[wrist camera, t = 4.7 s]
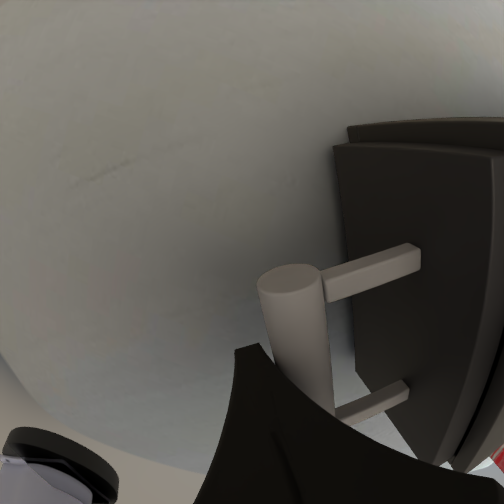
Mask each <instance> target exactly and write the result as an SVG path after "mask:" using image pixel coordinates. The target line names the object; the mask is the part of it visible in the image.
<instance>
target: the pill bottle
mask: <svg viewBox="0 0 504 504" xmlns="http://www.w3.org/2000/svg"><path fill="white" fill-rule="evenodd" d="M489 457H490V458H491V459H492V460H493V461H494V462H495V464H496V465H497V466H498V467H499V468H500V469H501V471H502V472H503V473H504V444H503V445H501V446H500V447H499V448H498V449H497V450H496V451H495V452H493V453H492V454H491V455H490V456H489Z"/></svg>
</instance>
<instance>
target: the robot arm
mask: <svg viewBox="0 0 504 504" xmlns="http://www.w3.org/2000/svg"><path fill="white" fill-rule="evenodd" d="M234 355H235V368H234V378H233V385H232V391H231V396H230V401H229V407H228V411H227V415H226V419H225V422H224V426H223V430H222V433H221V437H220V440H219V443H218V446H217V449H216V452H215V455H214V458H213V460H212V463H211V466H210V468H209V471H208V473H207V475H206V478H205V480H204V482H203V484H202V486H201V489H200V491H199V493H198V495H197V497H196V499H195V501H194V503H193V504H504V488H503V486H502V485H500V484H499V483H498V482H497V481H496V480H494V479H493V478H489V477H483V476H477V475H472V474H466V473H462V472H458V471H454V470H450V469H446V468H442V467H439V466H436V465H433V464H430V463H427V462H424V461H421V460H418V459H415V458H413V457H410V456H408V455H405V454H403V453H401V452H398V451H396V450H394V449H391V448H389V447H387V446H385V445H383V444H380V443H378V442H376V441H374V440H372V439H371V438H369V437H367V436H365V435H363V434H362V433H360V432H358V431H356V430H355V429H353V428H351V427H350V426H348V425H346V424H345V423H343V422H342V421H340V420H339V419H337V418H336V417H334V416H333V415H331V414H330V413H329V412H327V411H326V410H324V409H323V408H322V407H321V406H319V405H318V404H317V403H315V402H314V401H313V400H312V399H310V398H309V397H308V396H307V395H306V394H305V393H303V392H302V391H301V390H300V389H299V388H298V387H297V386H296V385H295V384H294V383H293V382H291V381H290V380H289V379H288V378H287V377H286V376H285V375H284V374H283V373H282V372H281V371H280V369H279V368H278V367H277V366H276V365H275V364H274V363H273V362H272V360H271V359H270V358H269V357H268V355H267V354H266V352H265V351H264V350H263V348H262V346H261V345H260V343H256V344H253V345H249V346H246V347H242V348H239V349H235V353H234ZM0 461H1V462H2V463H3V465H2V468H1V471H0V504H91V503H94V504H110V500H109V499H108V498H107V497H106V496H105V495H103V494H102V493H101V492H100V491H98V490H97V489H96V488H95V487H94V486H93V485H91V484H90V483H89V482H88V481H87V480H86V479H85V478H83V477H82V476H81V475H80V474H79V473H78V472H77V471H76V470H75V469H74V468H73V467H72V466H70V465H69V464H68V463H67V462H66V461H65V460H62V459H44V458H28V457H17V456H8V455H0Z"/></svg>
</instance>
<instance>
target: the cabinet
mask: <svg viewBox="0 0 504 504" xmlns="http://www.w3.org/2000/svg"><path fill="white" fill-rule="evenodd" d="M347 130H348V135H349V140H350V143H354V142H411V143H431V144H445V145H458V146H468V147H478V148H487V149H495V150H502V151H504V117H457V118H432V119H416V120H403V121H391V122H381V123H372V124H363V125H355V126H348V127H347ZM503 444H504V345H503V348H502V351H501V355H500V358H499V361H498V364H497V367H496V370H495V372H494V375H493V378H492V381H491V383H490V386H489V388H488V391H487V393H486V396H485V398H484V401H483V403H482V405H481V408H480V410H479V412H478V414H477V417H476V419H475V421H473V420H472V419H471V421H470V423H469V425H468V427H467V430H466V432H465V434H464V436H463V438H462V440H461V442H460V444H459V446H458V447H457V449H456V451H455V453H454V455H453V457H452V458H451V459H449V460H448V463H449V464H451V467H452V468H453V470H454V471H458V472H462V473H466V474H467V473H468V472H469V471H471V470H472V469H473V468H475V467H476V466H477V465H479V464H480V463H481V462H482V461H484V460H485V459H486V458H487V457H489V456H490V455H491V454H492V453H493V452H495V451H496V450H497V449H498V448H499V447H500V446H501V445H503Z"/></svg>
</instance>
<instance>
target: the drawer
mask: <svg viewBox="0 0 504 504" xmlns="http://www.w3.org/2000/svg"><path fill="white" fill-rule="evenodd" d="M333 152H334V158H335V163H336V169H337V175H338V181H339V188H340V194H341V201H342V208H343V215H344V223H345V231H346V239H347V248H348V257H349V262H347V263H344V264H340V265H337V266H334V267H331V268H328V269H324V270H321V271H319V270H318V269H317V268H316V267H314V266H312V265H308V264H288V265H283V266H279V267H276V268H274V269H271V270H269V271H267V272H266V273H264V274H263V275H262V276H260V278H259V279H258V281H257V284H256V287H257V291H258V295H259V299H260V303H261V307H262V311H263V316H264V320H265V324H266V328H267V332H268V336H269V340H270V344H271V348H272V353H273V357H274V361H275V365H276V366H277V367H278V368H279V369H280V371H281V372H282V373H283V374H284V375H285V376H286V377H287V378H288V379H289V380H290V381H291V382H293V383H294V384H295V385H296V386H297V387H298V388H299V389H300V390H301V391H302V392H303V393H305V394H306V395H307V396H308V397H309V398H310V399H312V400H313V401H314V402H315V403H317V404H318V405H319V406H321V407H322V408H323V409H324V410H326V411H327V412H329V413H330V414H331V415H333V416H334V417H336V418H337V419H339V420H340V421H342V422H343V423H345V424H346V425H348V426H351V425H354V424H356V423H359V422H361V421H363V420H365V419H368V418H370V417H372V416H374V415H377V414H379V413H381V412H383V411H384V412H385V413H386V414H387V416H388V417H389V419H390V420H391V421H392V423H393V424H394V426H395V427H396V428H397V430H398V431H399V433H400V434H401V436H402V437H403V438H404V440H405V441H406V443H407V444H408V445H409V447H410V448H411V450H412V451H413V453H414V454H415V455H416V457H417V458H418V460H421V461H424V462H427V463H430V464H433V465H436V466H440V465H442V464H443V463H445V462H446V461H448V460H449V459H451V458H452V457H453V455H454V453H455V451H456V449H457V447H458V446H459V444H460V442H461V440H462V438H463V436H464V434H465V432H466V430H467V427H468V425H469V423H470V421H471V419H472V420H473V421H475V419H476V417H477V414H478V412H479V410H480V408H481V405H482V403H483V401H484V398H485V396H486V393H487V391H488V388H489V386H490V383H491V381H492V378H493V375H494V372H495V370H496V367H497V364H498V361H499V358H500V355H501V351H502V348H503V345H504V151H502V150H495V149H487V148H478V147H468V146H458V145H445V144H431V143H411V142H354V143H347V144H341V145H335V146H333ZM351 295H352V304H353V319H354V339H355V371H356V372H357V374H358V375H359V377H360V378H361V379H362V381H363V382H364V384H365V385H366V386H367V388H368V389H369V391H370V392H371V394H369V395H366V396H364V397H362V398H359V399H357V400H355V401H352V402H350V403H347V404H345V405H342V406H340V407H337V408H335V406H334V392H333V379H332V368H331V357H330V347H329V337H328V328H327V319H326V310H325V302H324V299H325V301H326V302H327V303H331V302H334V301H337V300H340V299H343V298H346V297H349V296H351Z"/></svg>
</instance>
